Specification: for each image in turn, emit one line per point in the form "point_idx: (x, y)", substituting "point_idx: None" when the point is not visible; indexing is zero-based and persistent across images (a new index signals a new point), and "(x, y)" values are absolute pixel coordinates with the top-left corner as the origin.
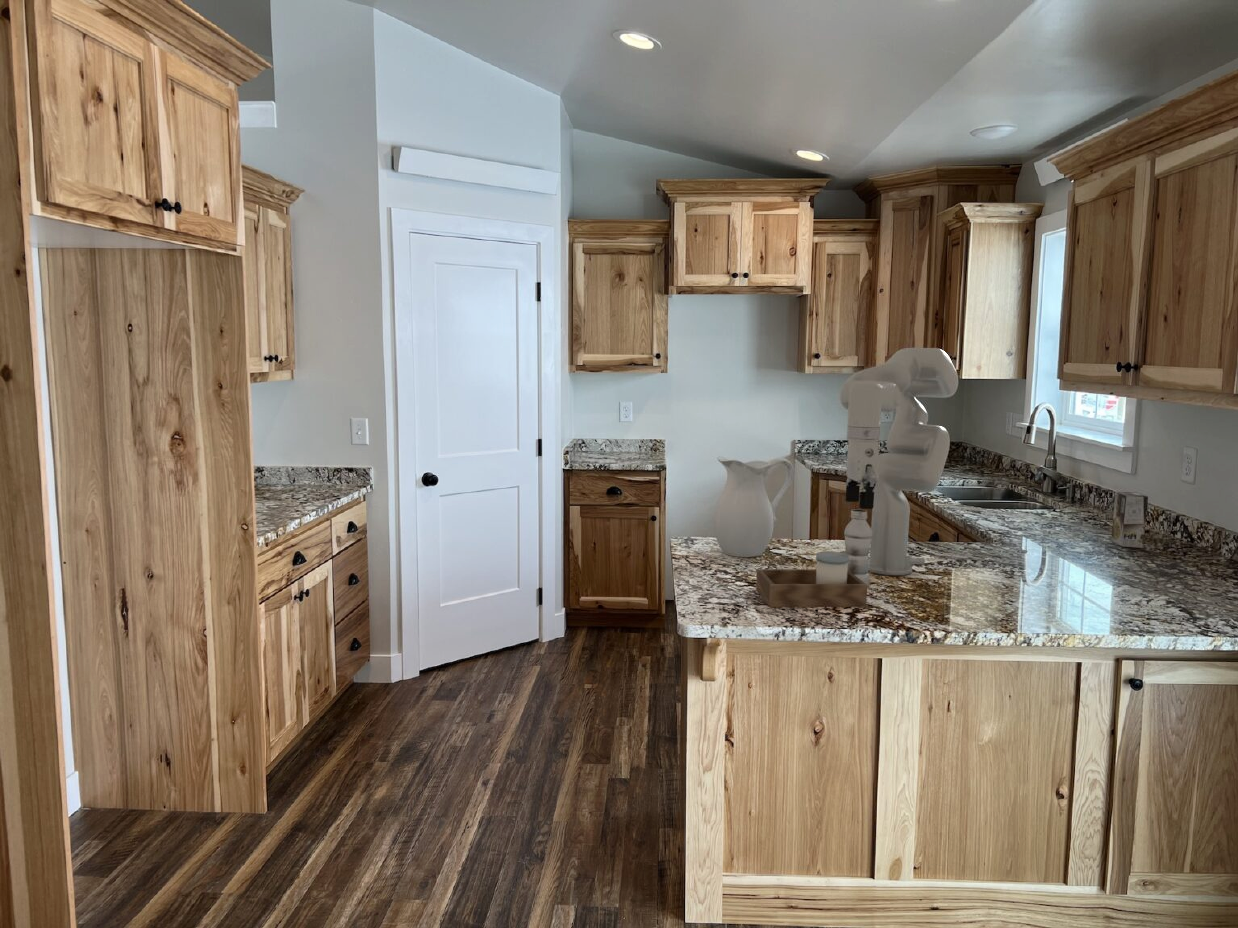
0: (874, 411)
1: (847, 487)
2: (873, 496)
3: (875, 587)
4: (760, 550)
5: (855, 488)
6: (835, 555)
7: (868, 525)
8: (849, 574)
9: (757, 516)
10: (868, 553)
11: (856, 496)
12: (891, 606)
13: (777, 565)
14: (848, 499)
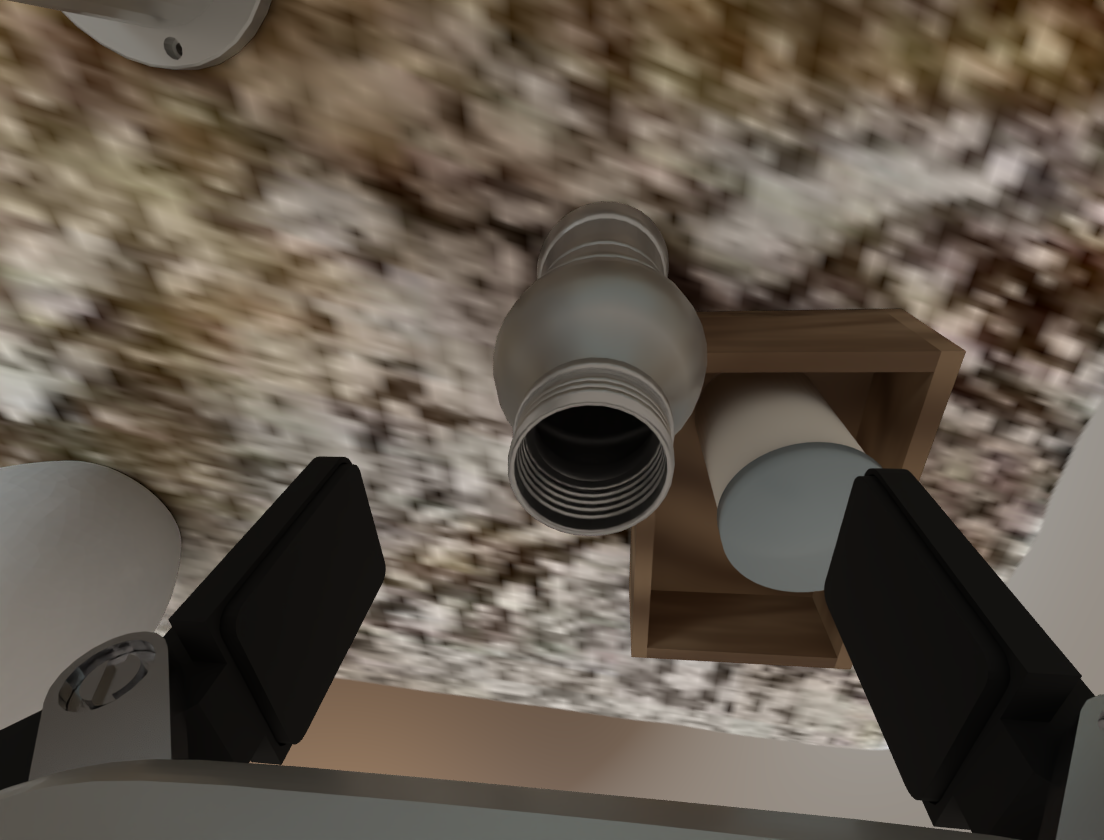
0: None
1: (296, 730)
2: (1012, 604)
3: (538, 128)
4: (133, 495)
5: (275, 638)
6: (824, 520)
7: (649, 331)
8: (748, 372)
9: (45, 632)
10: (642, 255)
11: (332, 526)
12: (867, 162)
13: (253, 450)
14: (376, 576)
